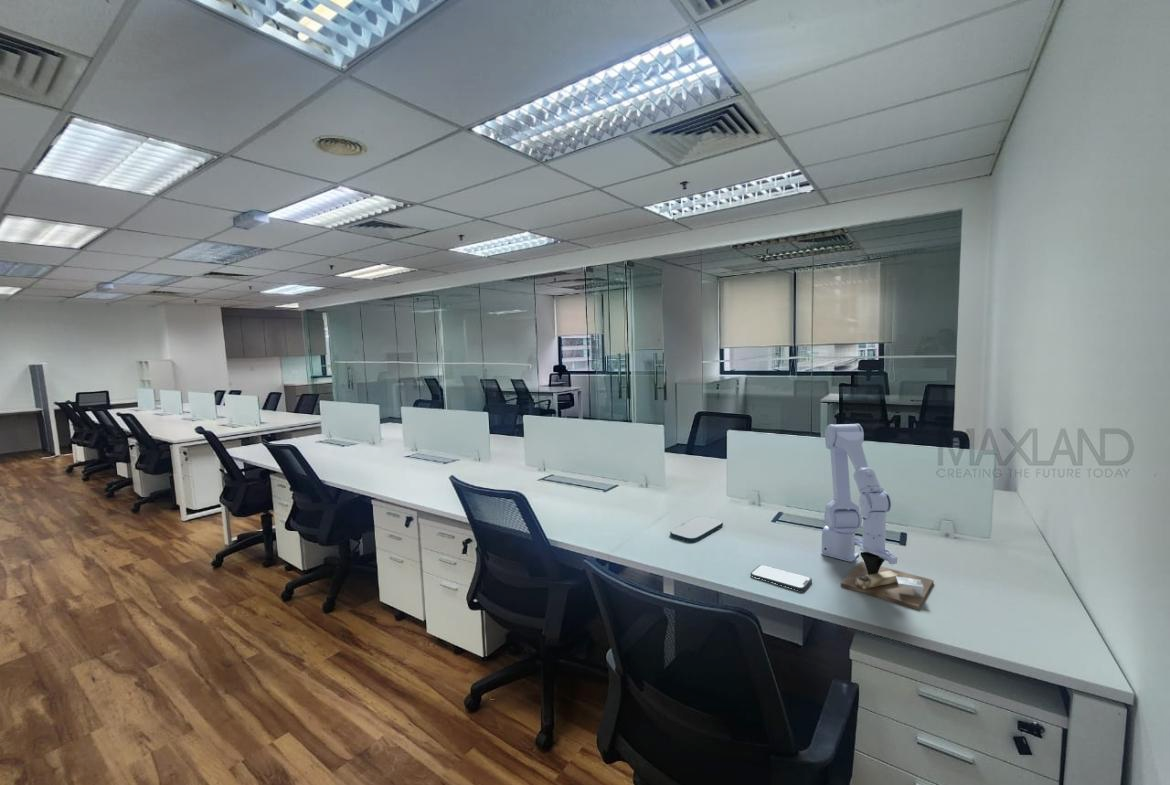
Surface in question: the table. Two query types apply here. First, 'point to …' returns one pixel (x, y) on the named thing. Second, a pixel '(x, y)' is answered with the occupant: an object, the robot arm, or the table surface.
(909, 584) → the keeper
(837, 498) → the robot arm
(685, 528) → the external hard drive
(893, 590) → the walnut board
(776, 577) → the phone case
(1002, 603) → the table surface
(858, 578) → the pivot link
